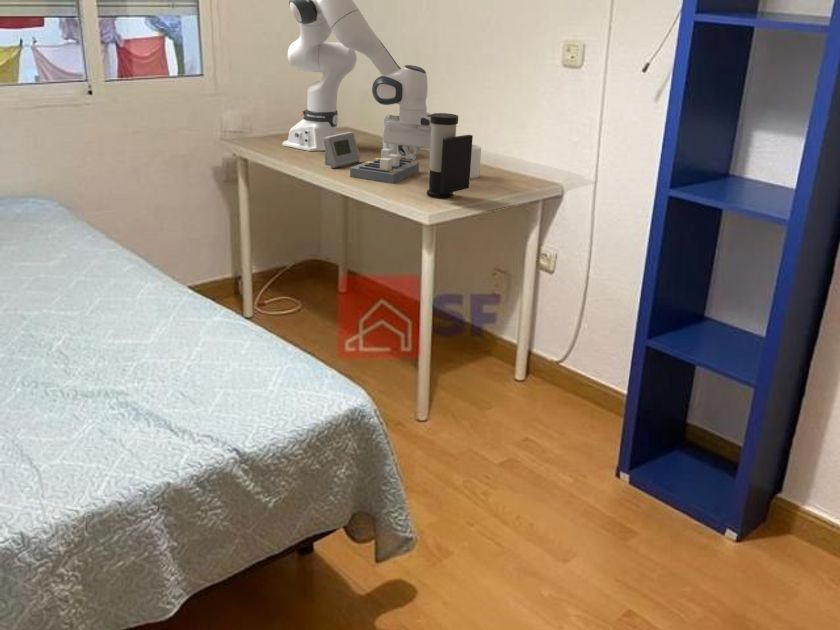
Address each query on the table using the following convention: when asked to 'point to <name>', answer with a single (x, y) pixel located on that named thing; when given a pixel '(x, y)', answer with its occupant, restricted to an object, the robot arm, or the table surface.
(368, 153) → the table surface
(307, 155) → the table surface
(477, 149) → the mug
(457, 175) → the light fixture
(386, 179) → the switch unit
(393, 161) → the slider
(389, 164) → the slider
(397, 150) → the mug
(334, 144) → the digital clock
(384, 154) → the slider
